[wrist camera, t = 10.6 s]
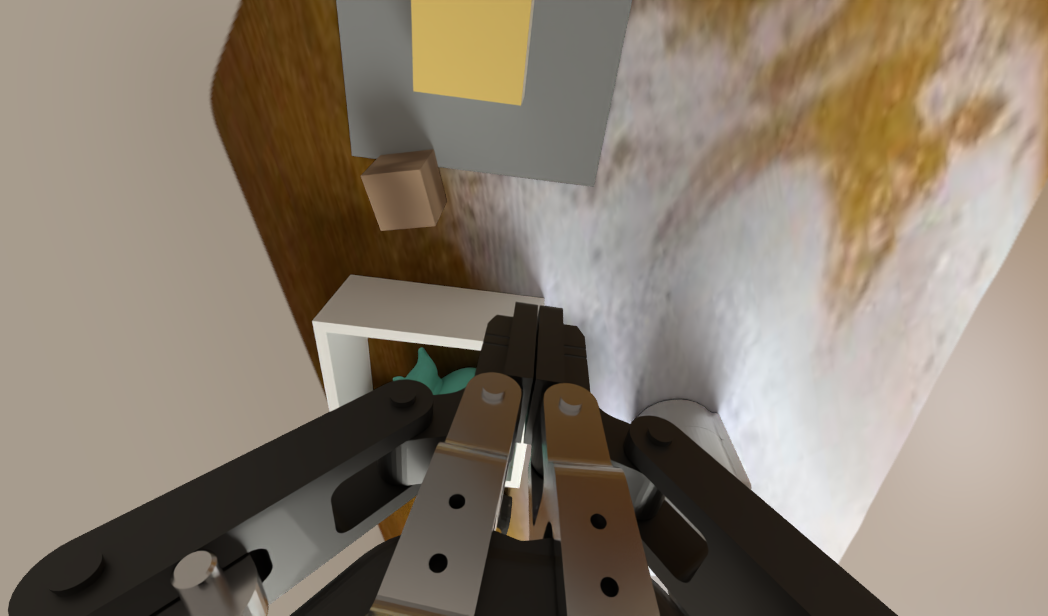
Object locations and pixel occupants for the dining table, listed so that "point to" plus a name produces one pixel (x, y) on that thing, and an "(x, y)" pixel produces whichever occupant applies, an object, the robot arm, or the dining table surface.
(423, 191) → the walnut cube
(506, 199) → the dining table surface
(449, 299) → the toy caddy
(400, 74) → the mat
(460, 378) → the toy
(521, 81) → the cream block
